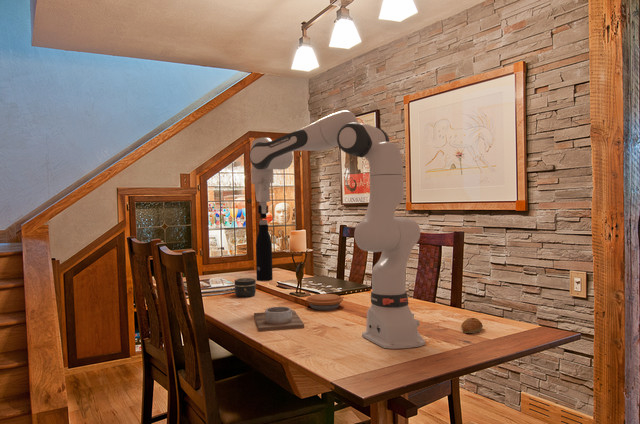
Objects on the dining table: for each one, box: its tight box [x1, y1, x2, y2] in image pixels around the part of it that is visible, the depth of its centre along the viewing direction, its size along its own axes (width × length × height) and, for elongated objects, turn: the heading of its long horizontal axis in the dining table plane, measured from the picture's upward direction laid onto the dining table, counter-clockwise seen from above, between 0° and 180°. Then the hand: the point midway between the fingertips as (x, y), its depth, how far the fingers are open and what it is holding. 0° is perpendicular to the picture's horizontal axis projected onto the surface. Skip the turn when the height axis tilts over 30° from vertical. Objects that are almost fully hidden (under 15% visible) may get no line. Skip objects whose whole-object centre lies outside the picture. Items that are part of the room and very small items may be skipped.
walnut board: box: [253, 309, 305, 332], centre depth 180 cm, size 22×16×1 cm
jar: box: [234, 277, 257, 298], centre depth 229 cm, size 10×10×8 cm
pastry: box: [460, 317, 483, 335], centre depth 163 cm, size 9×7×4 cm
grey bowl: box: [264, 306, 293, 324], centre depth 177 cm, size 10×10×4 cm
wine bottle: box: [255, 204, 274, 282], centre depth 194 cm, size 6×6×30 cm
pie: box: [306, 293, 344, 311], centre depth 202 cm, size 15×16×5 cm
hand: (263, 213), depth 193 cm, fingers closed on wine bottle, 4 cm apart
